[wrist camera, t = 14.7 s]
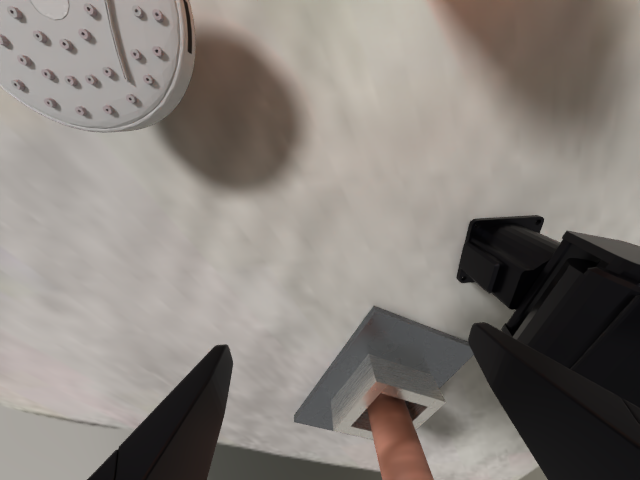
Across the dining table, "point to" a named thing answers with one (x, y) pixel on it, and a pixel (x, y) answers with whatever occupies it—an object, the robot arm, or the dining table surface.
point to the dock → (384, 373)
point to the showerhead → (97, 59)
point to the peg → (396, 440)
